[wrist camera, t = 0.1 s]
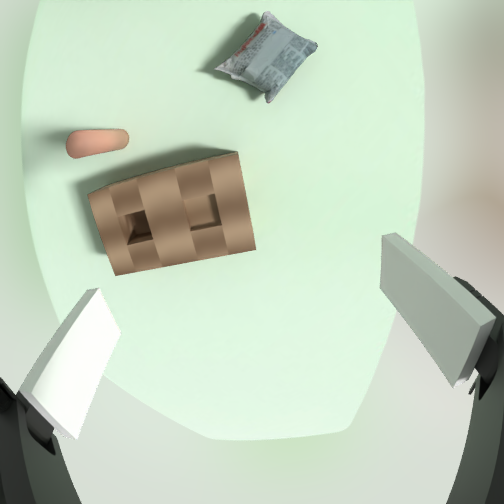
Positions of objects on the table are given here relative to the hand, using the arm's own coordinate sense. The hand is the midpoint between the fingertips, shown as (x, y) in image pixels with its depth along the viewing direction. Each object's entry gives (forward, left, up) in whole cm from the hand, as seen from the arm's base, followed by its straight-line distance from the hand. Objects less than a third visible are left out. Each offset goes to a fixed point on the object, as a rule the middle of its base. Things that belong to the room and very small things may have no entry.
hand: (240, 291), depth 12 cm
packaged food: (-17, +7, -28) cm, 34 cm away
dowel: (-10, -15, -28) cm, 33 cm away
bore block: (+2, -9, -28) cm, 29 cm away
